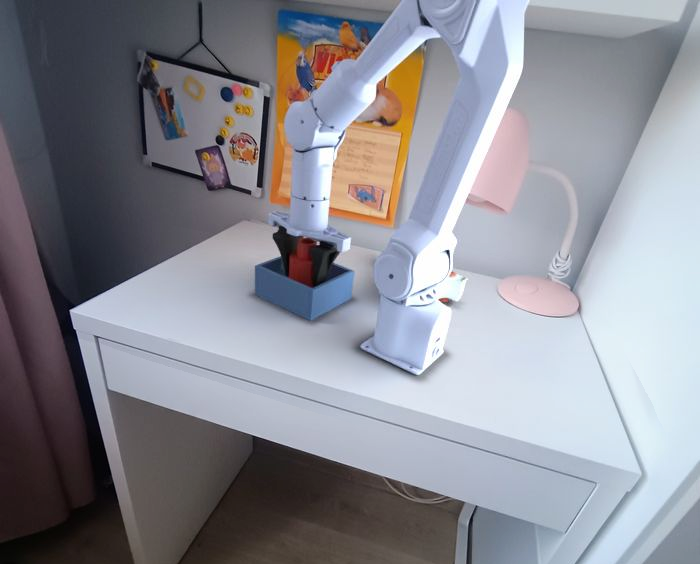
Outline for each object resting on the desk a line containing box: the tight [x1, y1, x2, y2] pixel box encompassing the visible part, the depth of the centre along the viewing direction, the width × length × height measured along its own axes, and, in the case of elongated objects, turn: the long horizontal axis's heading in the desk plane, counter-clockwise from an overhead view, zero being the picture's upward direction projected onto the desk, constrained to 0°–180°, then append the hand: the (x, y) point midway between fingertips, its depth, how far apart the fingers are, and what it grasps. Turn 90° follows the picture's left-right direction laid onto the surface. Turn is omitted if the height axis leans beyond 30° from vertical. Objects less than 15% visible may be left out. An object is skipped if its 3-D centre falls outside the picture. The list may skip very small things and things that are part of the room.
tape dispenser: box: [436, 270, 468, 303], centre depth 84 cm, size 18×5×20 cm
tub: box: [254, 255, 355, 322], centre depth 76 cm, size 12×11×5 cm
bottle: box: [289, 237, 318, 288], centre depth 74 cm, size 5×5×9 cm
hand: (304, 280), depth 76 cm, fingers closed on bottle, 5 cm apart
